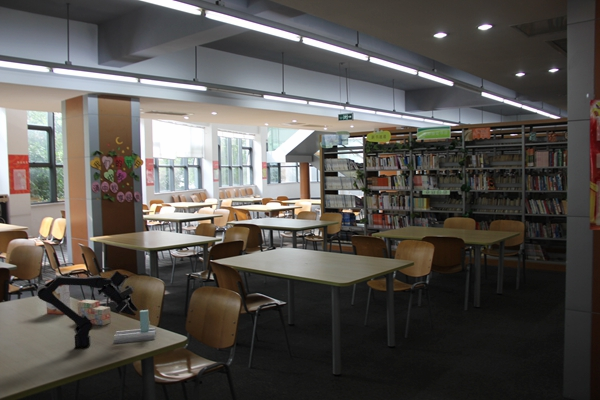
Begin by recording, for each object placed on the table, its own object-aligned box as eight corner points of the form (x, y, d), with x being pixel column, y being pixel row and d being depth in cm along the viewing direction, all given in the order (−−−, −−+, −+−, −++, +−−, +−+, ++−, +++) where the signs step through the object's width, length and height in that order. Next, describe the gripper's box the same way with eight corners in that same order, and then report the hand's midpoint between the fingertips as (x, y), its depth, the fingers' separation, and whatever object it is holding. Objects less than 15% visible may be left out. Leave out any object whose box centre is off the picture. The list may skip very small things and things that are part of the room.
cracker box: (46, 313, 315) (44, 281, 314) (53, 311, 321) (51, 279, 320) (64, 314, 311) (62, 282, 310) (71, 312, 317) (69, 279, 316)
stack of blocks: (111, 322, 289) (110, 302, 288) (102, 325, 283) (101, 304, 283) (87, 318, 299) (86, 298, 299) (78, 321, 294) (77, 301, 293)
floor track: (113, 343, 250) (113, 337, 250) (117, 336, 262) (116, 330, 262) (154, 339, 254) (153, 332, 254) (156, 332, 266) (155, 326, 266)
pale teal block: (141, 336, 257) (139, 311, 256) (141, 334, 260) (140, 310, 259) (150, 335, 258) (149, 311, 257) (151, 333, 261) (149, 309, 260)
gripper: (121, 285, 247) (145, 305, 249) (126, 278, 265) (148, 296, 268) (105, 302, 245) (129, 322, 248) (111, 294, 264) (134, 312, 266)
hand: (136, 312), depth 258 cm, fingers open, 9 cm apart
